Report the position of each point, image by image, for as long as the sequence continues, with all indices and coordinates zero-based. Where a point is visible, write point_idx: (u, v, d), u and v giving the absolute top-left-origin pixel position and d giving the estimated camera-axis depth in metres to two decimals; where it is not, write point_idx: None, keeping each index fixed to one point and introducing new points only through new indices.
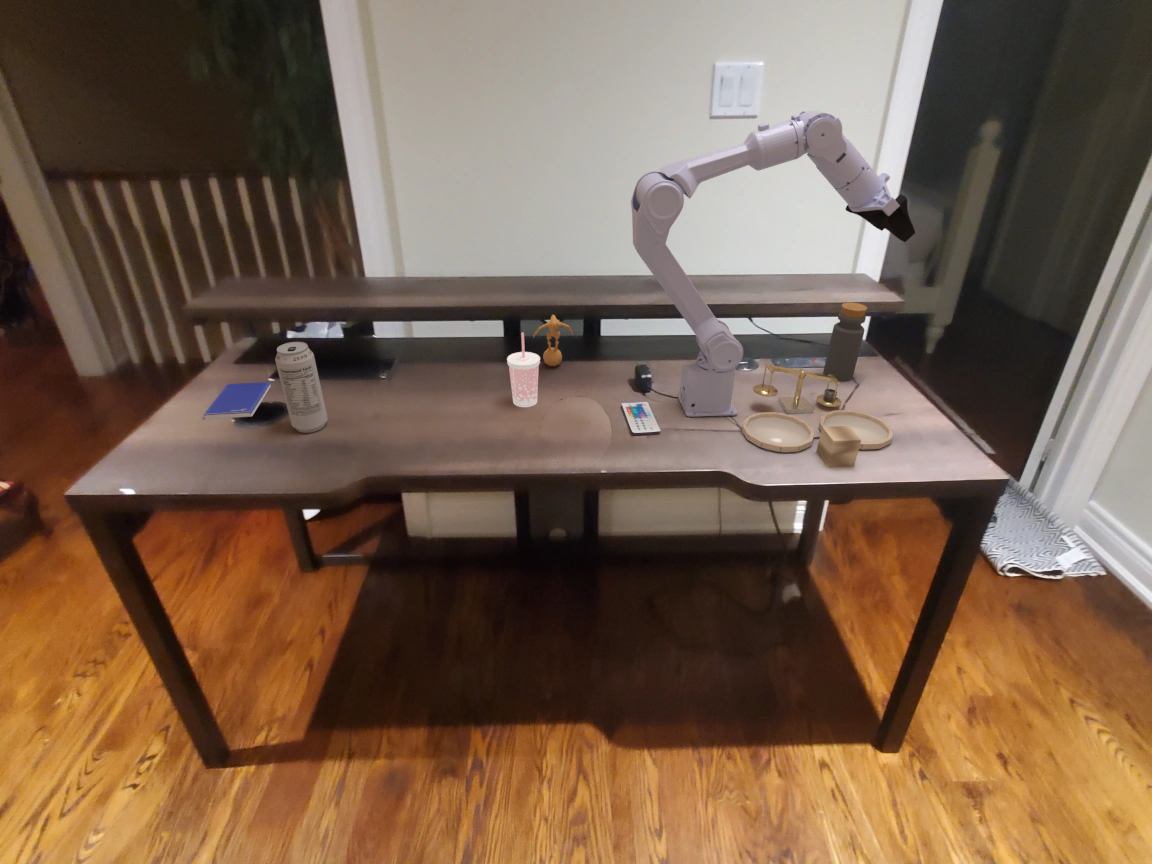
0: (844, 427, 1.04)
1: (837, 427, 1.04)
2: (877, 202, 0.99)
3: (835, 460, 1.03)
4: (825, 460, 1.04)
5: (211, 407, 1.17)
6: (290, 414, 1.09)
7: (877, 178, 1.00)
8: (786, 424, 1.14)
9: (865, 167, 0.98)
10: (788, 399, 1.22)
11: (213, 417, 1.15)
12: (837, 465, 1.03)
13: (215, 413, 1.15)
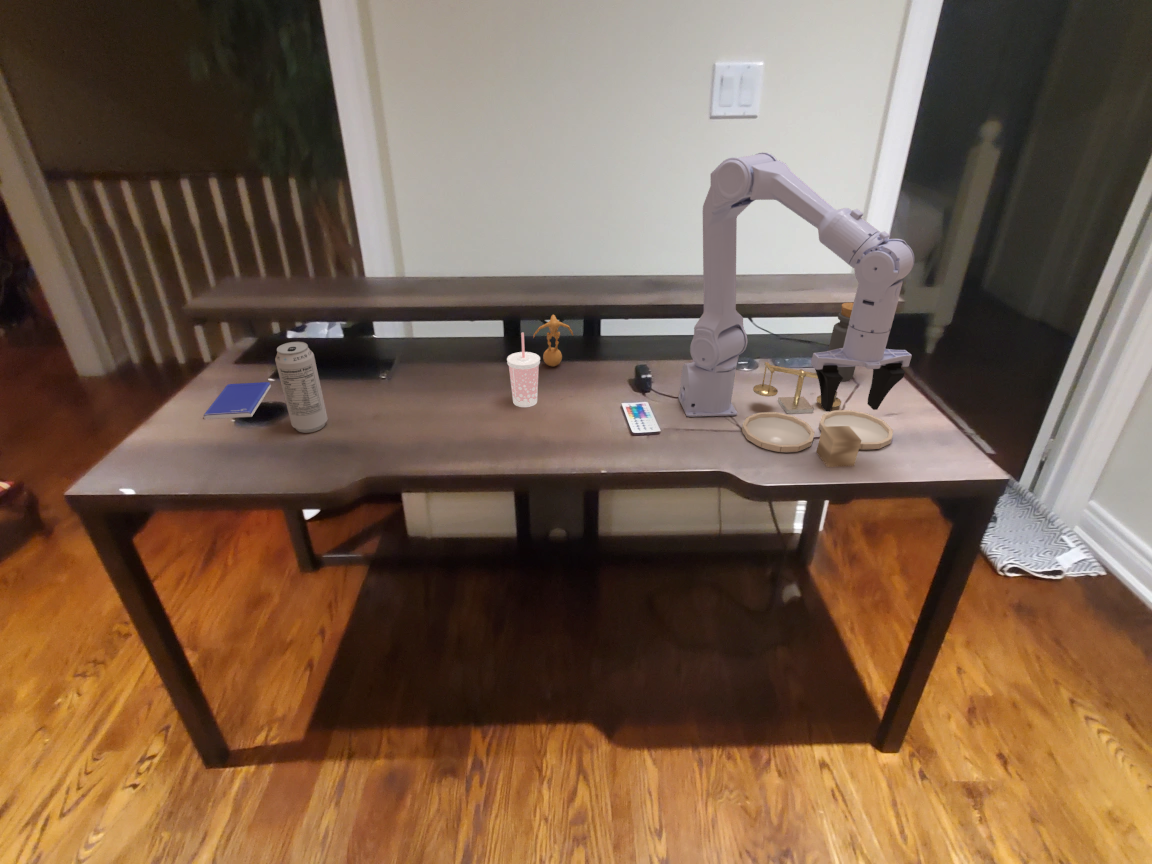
0: (844, 427, 1.04)
1: (837, 427, 1.04)
2: None
3: (835, 460, 1.03)
4: (825, 460, 1.04)
5: (211, 407, 1.17)
6: (290, 414, 1.09)
7: (860, 352, 0.93)
8: (786, 424, 1.14)
9: (860, 331, 0.92)
10: (788, 399, 1.22)
11: (213, 417, 1.15)
12: (837, 465, 1.03)
13: (215, 413, 1.15)
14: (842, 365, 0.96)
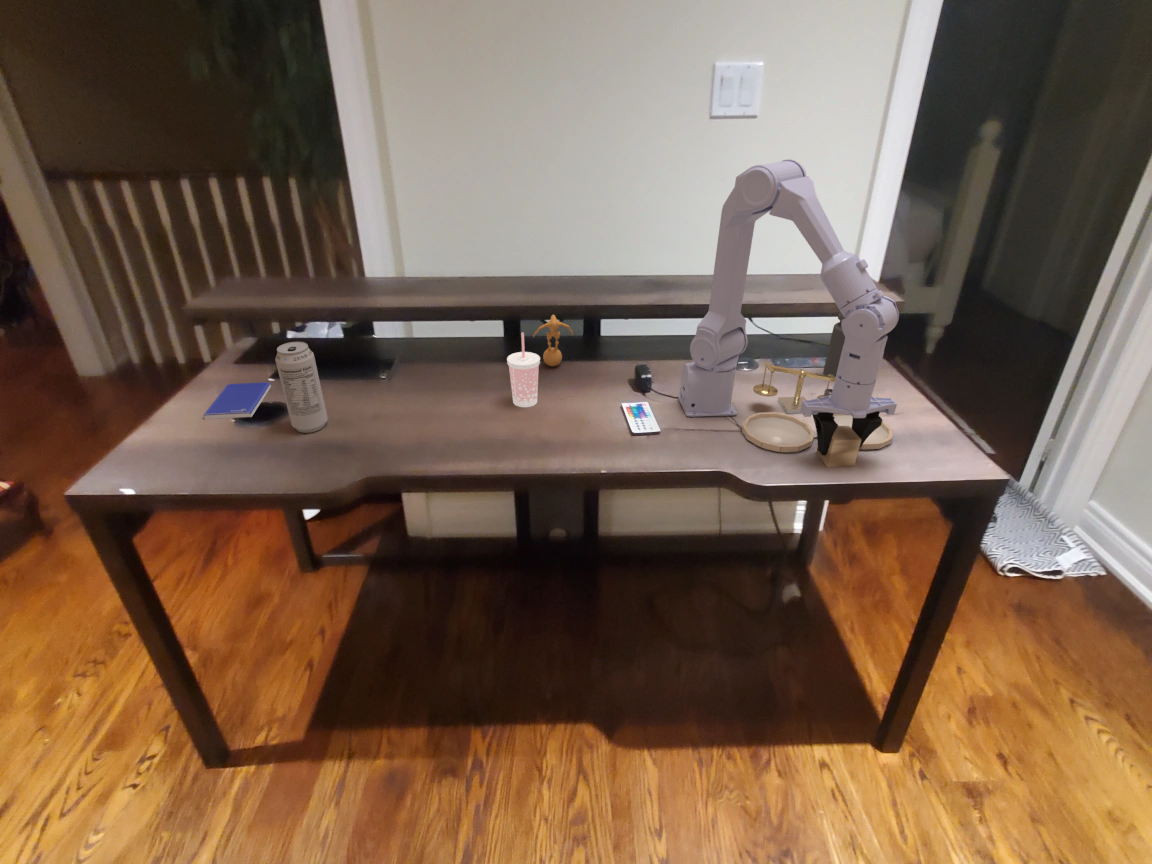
0: (844, 427, 1.04)
1: (837, 427, 1.04)
2: (818, 402, 1.00)
3: (835, 460, 1.03)
4: (825, 460, 1.04)
5: (211, 407, 1.17)
6: (290, 414, 1.09)
7: (846, 401, 0.97)
8: (786, 424, 1.14)
9: (847, 382, 0.96)
10: (788, 399, 1.22)
11: (213, 417, 1.15)
12: (837, 465, 1.03)
13: (215, 413, 1.15)
14: (830, 412, 1.00)
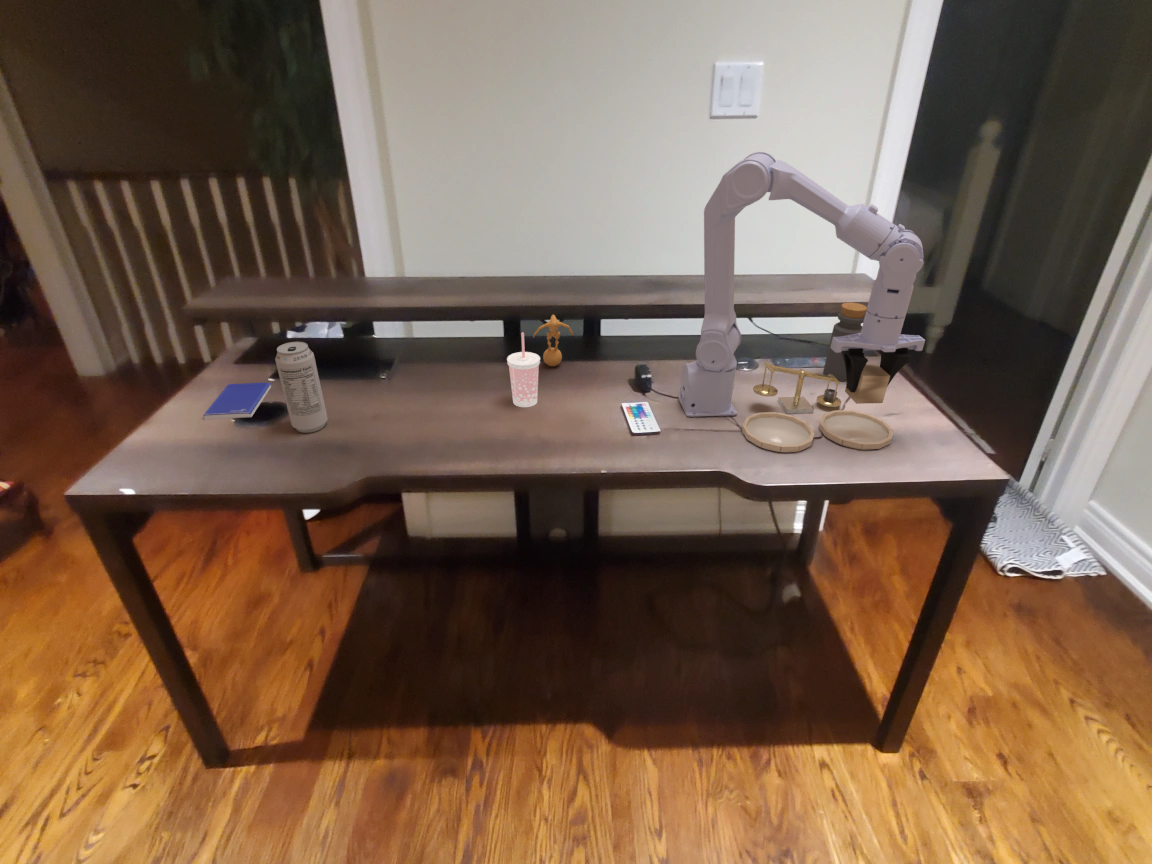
0: (873, 365, 1.07)
1: (866, 365, 1.07)
2: (849, 338, 1.03)
3: (864, 396, 1.06)
4: (854, 397, 1.07)
5: (211, 407, 1.17)
6: (290, 414, 1.09)
7: (877, 336, 1.00)
8: (786, 424, 1.14)
9: (877, 317, 0.99)
10: (788, 399, 1.22)
11: (213, 417, 1.15)
12: (866, 401, 1.06)
13: (215, 413, 1.15)
14: (859, 349, 1.03)
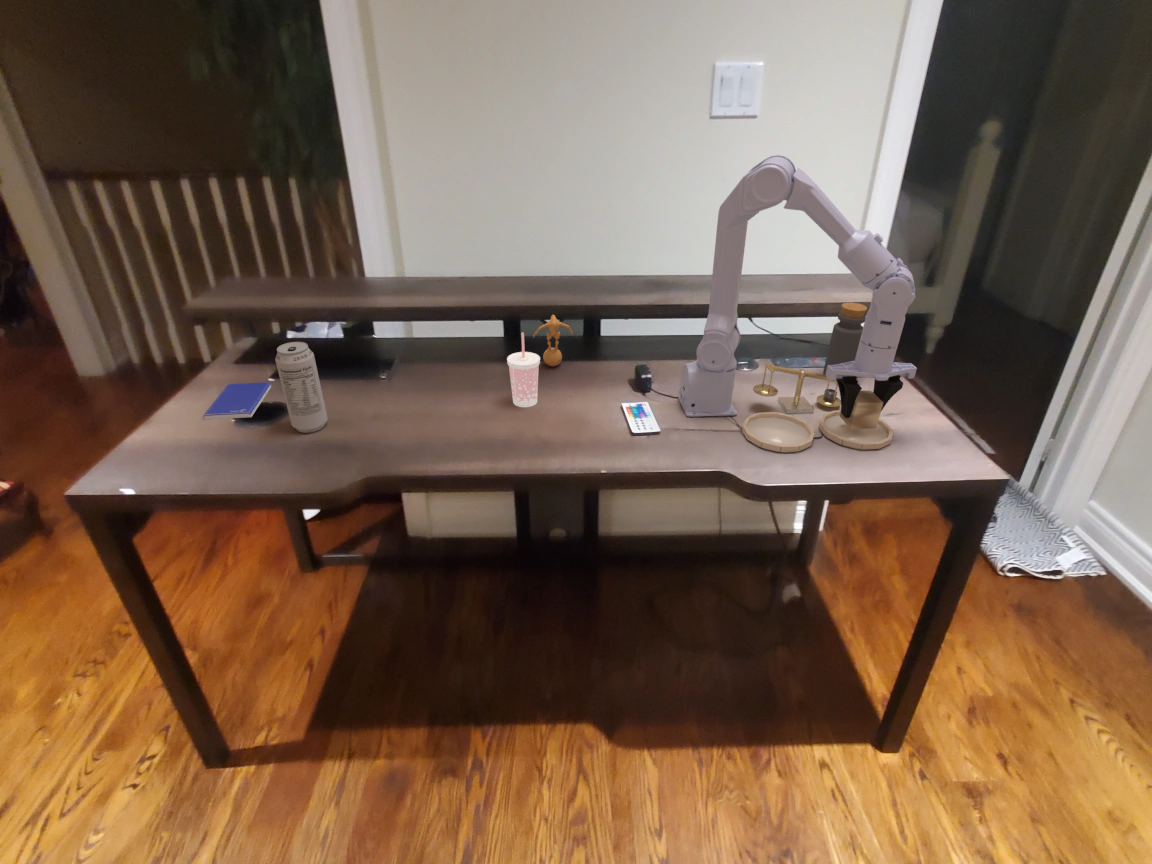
0: (866, 391, 1.11)
1: (860, 391, 1.11)
2: (843, 366, 1.06)
3: (858, 422, 1.09)
4: (849, 422, 1.10)
5: (211, 408, 1.17)
6: (290, 414, 1.09)
7: (870, 365, 1.03)
8: (786, 424, 1.14)
9: (871, 347, 1.02)
10: (788, 399, 1.22)
11: (213, 418, 1.15)
12: (860, 427, 1.09)
13: (214, 413, 1.15)
14: None
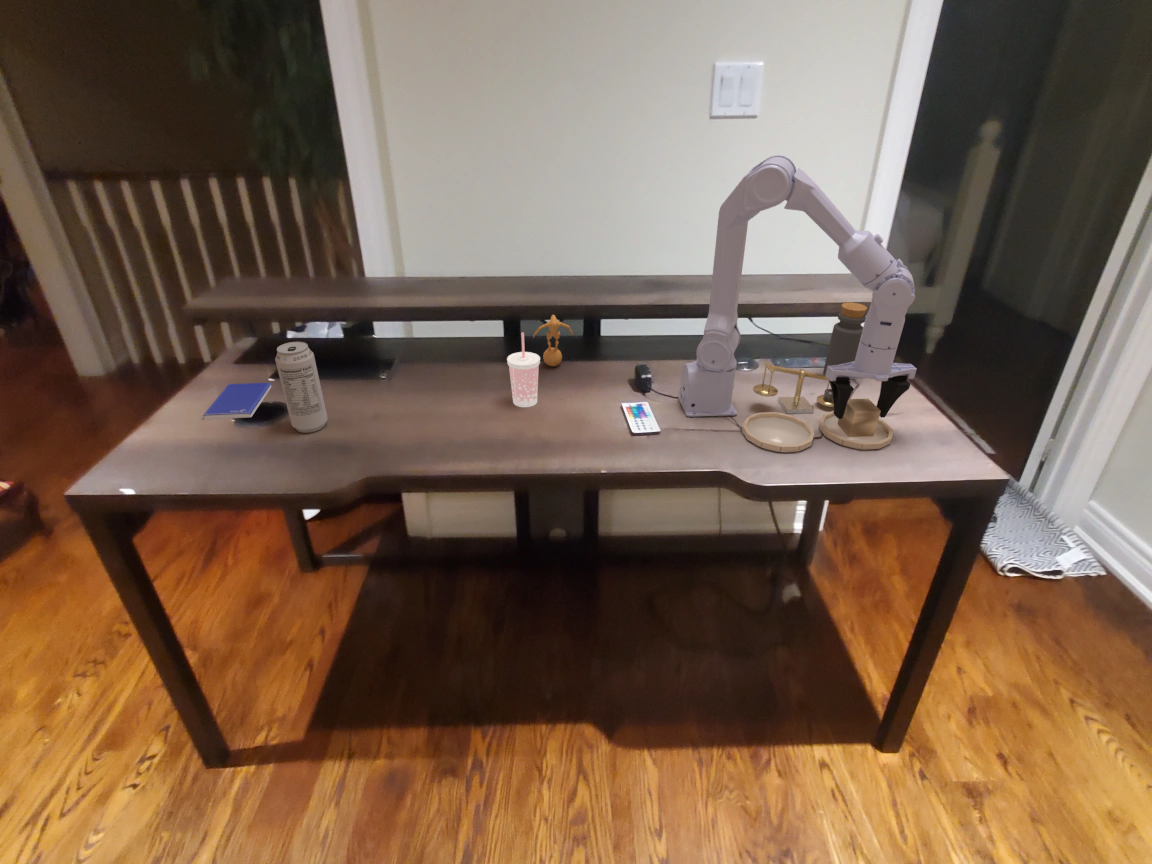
0: (864, 399, 1.11)
1: (857, 399, 1.11)
2: (843, 367, 1.06)
3: (856, 430, 1.10)
4: (846, 430, 1.11)
5: (211, 407, 1.17)
6: (290, 414, 1.09)
7: (870, 366, 1.03)
8: (786, 424, 1.14)
9: (870, 347, 1.02)
10: (788, 399, 1.22)
11: (212, 417, 1.15)
12: (858, 435, 1.10)
13: (214, 413, 1.15)
14: (853, 377, 1.07)
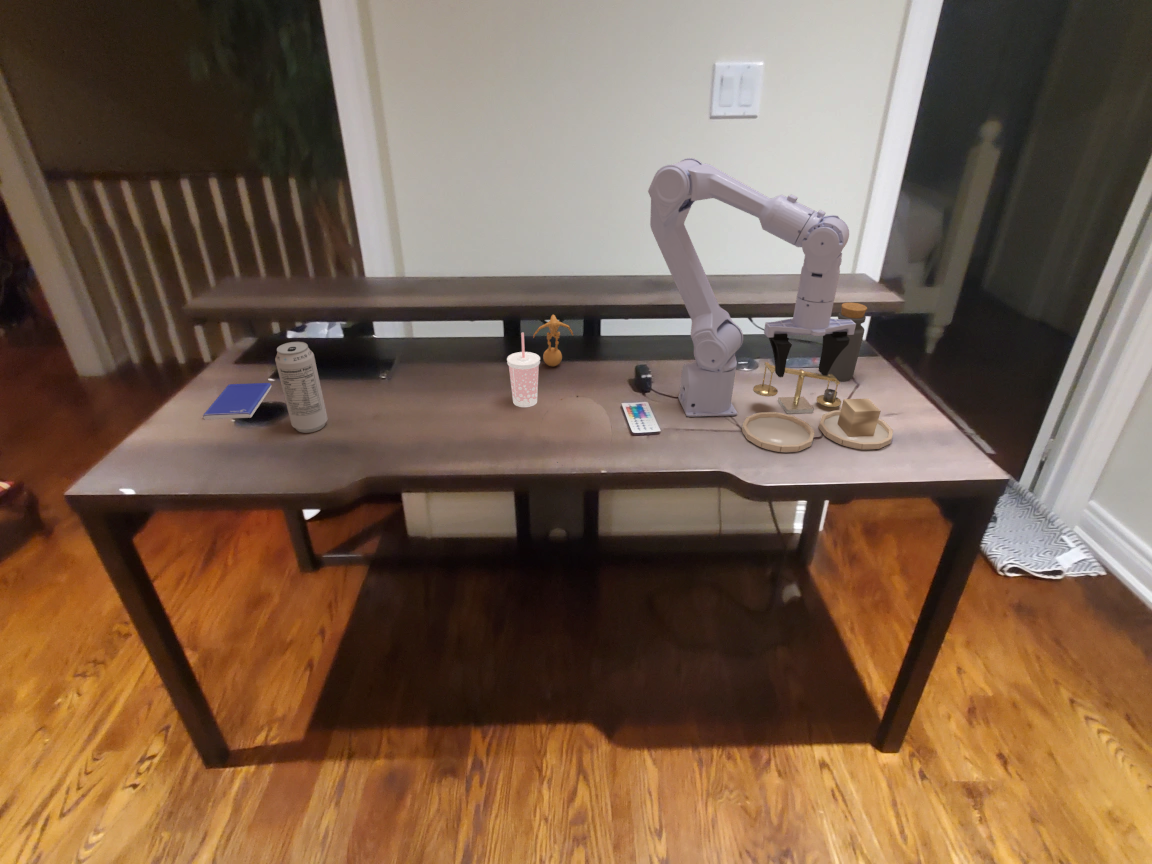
0: (864, 399, 1.11)
1: (857, 399, 1.11)
2: (781, 323, 1.05)
3: (856, 430, 1.10)
4: (846, 430, 1.11)
5: (211, 407, 1.17)
6: (290, 414, 1.09)
7: (806, 320, 1.02)
8: (786, 424, 1.14)
9: (806, 301, 1.01)
10: (788, 399, 1.22)
11: (212, 418, 1.15)
12: (858, 435, 1.10)
13: (214, 413, 1.15)
14: (792, 333, 1.05)
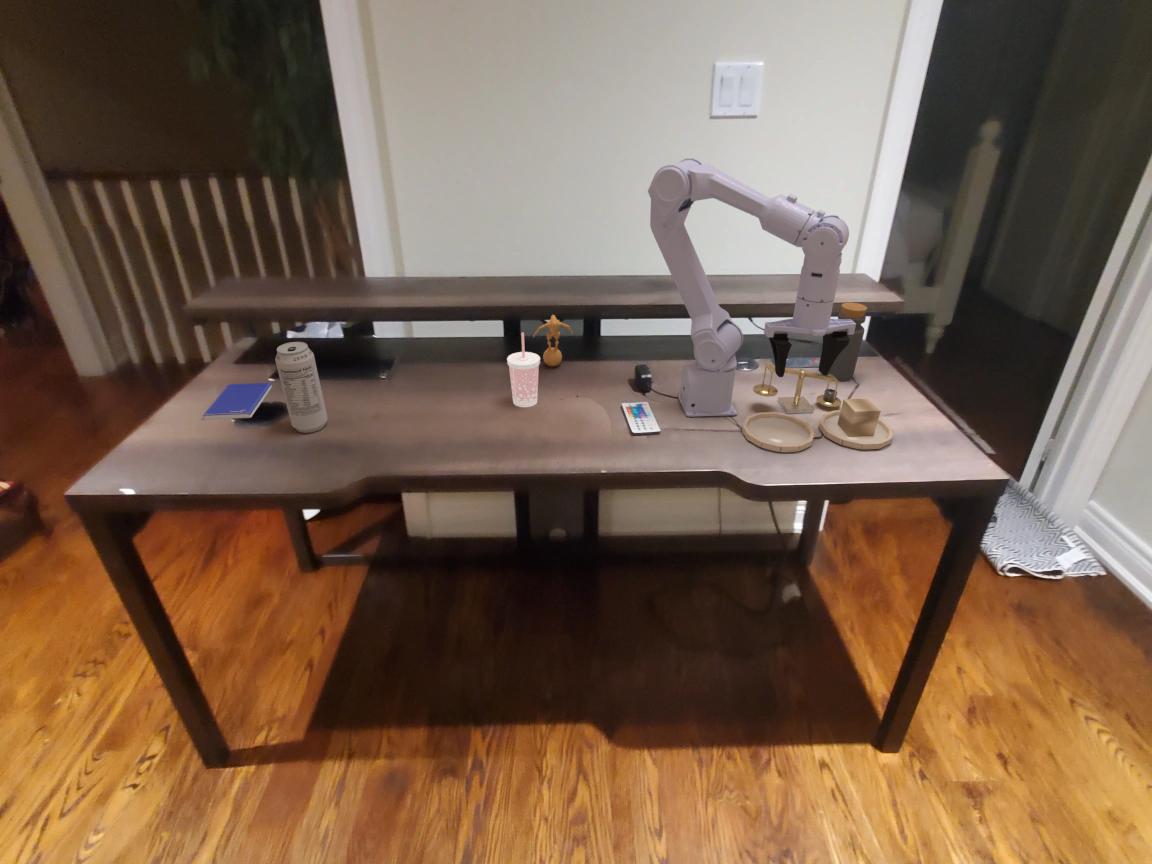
0: (864, 399, 1.11)
1: (857, 399, 1.11)
2: (781, 323, 1.05)
3: (856, 430, 1.10)
4: (846, 430, 1.11)
5: (211, 407, 1.17)
6: (290, 414, 1.09)
7: (806, 320, 1.02)
8: (786, 424, 1.14)
9: (806, 301, 1.01)
10: (788, 399, 1.22)
11: (212, 418, 1.15)
12: (858, 435, 1.10)
13: (214, 414, 1.15)
14: (792, 333, 1.05)
